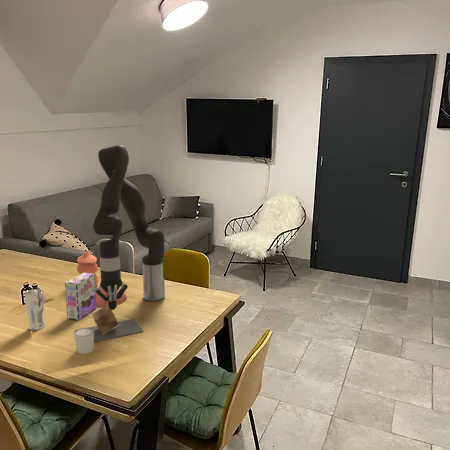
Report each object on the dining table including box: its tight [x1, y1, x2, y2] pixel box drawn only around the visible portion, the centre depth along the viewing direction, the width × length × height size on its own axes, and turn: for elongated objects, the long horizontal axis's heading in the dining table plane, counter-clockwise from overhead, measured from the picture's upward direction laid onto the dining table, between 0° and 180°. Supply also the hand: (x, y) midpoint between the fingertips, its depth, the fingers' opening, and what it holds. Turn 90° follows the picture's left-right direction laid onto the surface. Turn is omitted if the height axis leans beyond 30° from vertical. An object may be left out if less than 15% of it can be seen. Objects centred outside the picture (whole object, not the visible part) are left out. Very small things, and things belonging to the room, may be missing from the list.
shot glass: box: [73, 327, 95, 355], centre depth 162 cm, size 7×7×7 cm
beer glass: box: [24, 288, 46, 331], centre depth 179 cm, size 7×7×15 cm
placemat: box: [74, 318, 144, 343], centre depth 177 cm, size 24×13×1 cm, turn 118°
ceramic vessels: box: [76, 250, 128, 309], centre depth 213 cm, size 35×21×19 cm, turn 41°
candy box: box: [64, 273, 98, 321], centre depth 192 cm, size 14×6×16 cm, turn 163°
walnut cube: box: [92, 305, 119, 335], centre depth 176 cm, size 7×7×7 cm
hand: (112, 309), depth 176 cm, fingers closed
